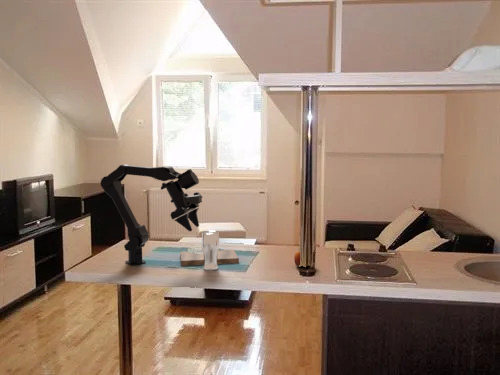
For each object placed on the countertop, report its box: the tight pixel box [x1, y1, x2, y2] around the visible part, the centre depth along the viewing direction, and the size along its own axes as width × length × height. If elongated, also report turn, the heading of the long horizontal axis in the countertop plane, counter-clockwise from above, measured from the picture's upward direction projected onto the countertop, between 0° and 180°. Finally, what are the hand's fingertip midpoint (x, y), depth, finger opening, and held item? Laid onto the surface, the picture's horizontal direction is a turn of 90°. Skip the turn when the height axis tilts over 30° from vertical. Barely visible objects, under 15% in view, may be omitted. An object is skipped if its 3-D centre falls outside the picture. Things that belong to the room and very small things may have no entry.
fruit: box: [293, 250, 301, 268], centre depth 195 cm, size 8×8×8 cm
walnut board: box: [179, 249, 240, 266], centre depth 207 cm, size 24×15×2 cm, turn 100°
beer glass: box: [201, 230, 220, 271], centre depth 193 cm, size 7×7×15 cm
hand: (194, 228), depth 194 cm, fingers open, 9 cm apart
